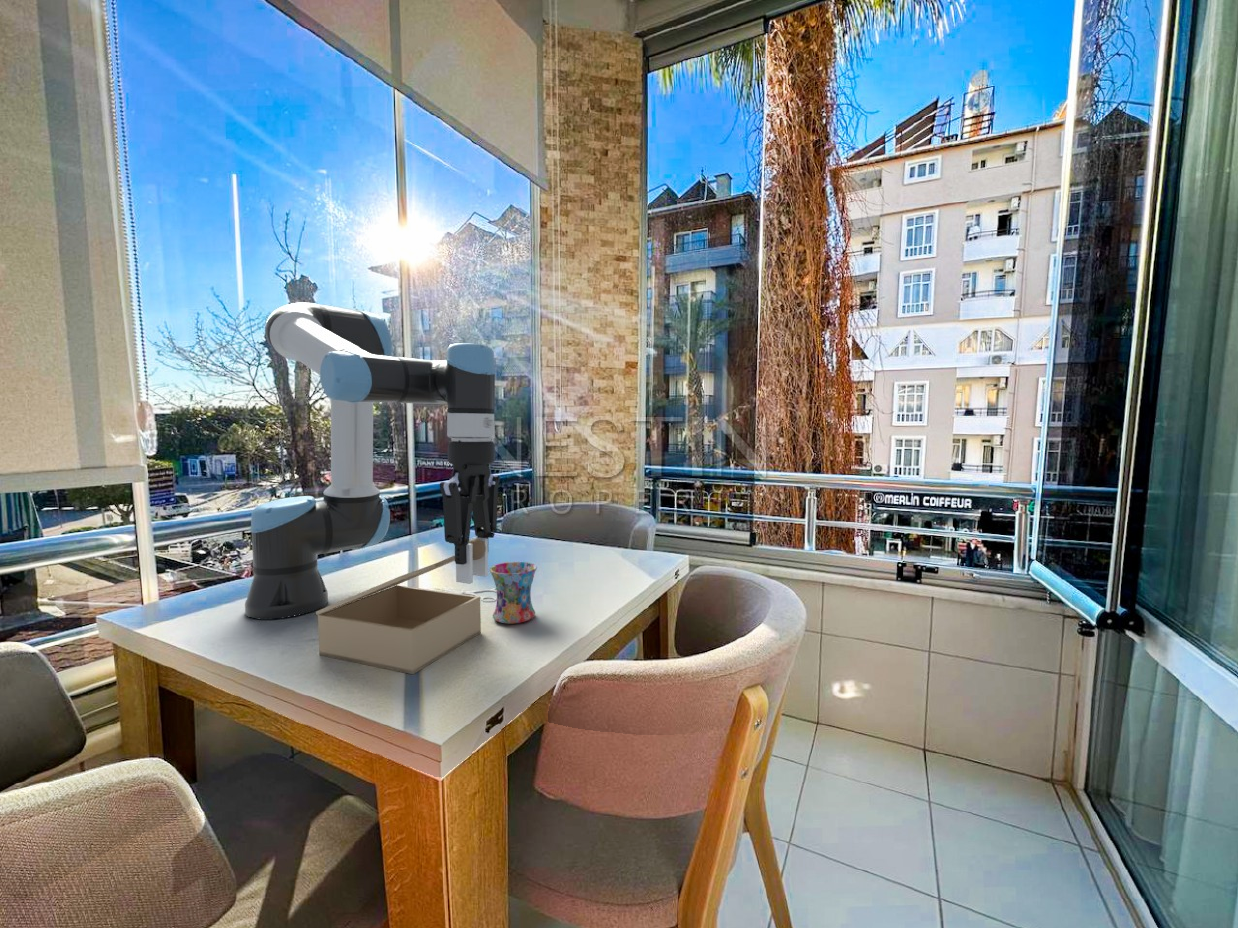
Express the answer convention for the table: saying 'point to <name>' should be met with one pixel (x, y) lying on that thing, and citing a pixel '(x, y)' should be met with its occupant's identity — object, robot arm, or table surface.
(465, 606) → the box
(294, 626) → the table surface
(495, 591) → the scissors
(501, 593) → the mug
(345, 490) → the robot arm
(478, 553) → the lid
